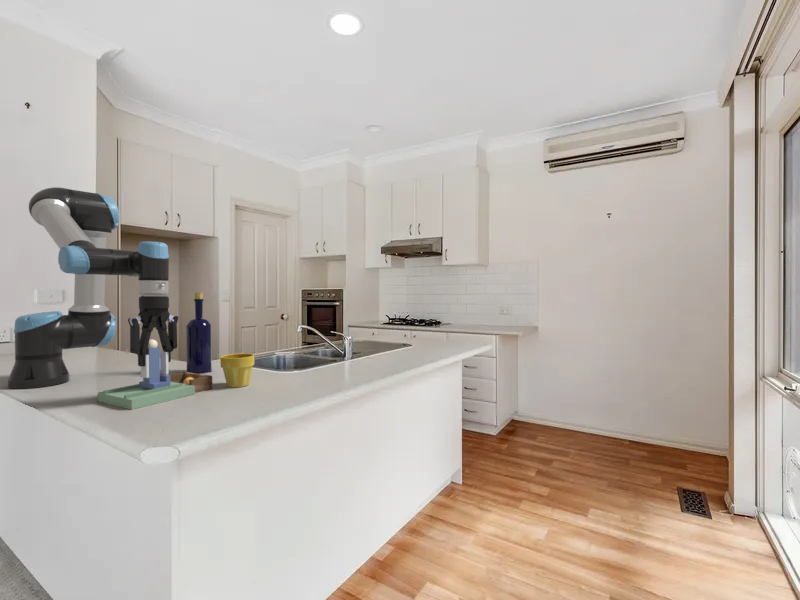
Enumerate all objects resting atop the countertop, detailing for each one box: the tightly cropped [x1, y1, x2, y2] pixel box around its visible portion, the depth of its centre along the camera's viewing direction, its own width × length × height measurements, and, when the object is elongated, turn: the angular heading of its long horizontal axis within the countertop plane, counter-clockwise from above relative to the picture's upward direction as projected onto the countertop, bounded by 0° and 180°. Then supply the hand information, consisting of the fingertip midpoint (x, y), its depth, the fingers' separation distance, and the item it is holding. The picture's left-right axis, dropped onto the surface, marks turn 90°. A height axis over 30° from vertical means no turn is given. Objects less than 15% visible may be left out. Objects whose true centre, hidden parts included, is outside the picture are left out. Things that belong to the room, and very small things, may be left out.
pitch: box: [97, 382, 195, 410], centre depth 118 cm, size 16×18×3 cm
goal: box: [168, 371, 213, 393], centre depth 129 cm, size 13×7×4 cm, turn 63°
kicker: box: [138, 338, 170, 389], centre depth 119 cm, size 7×5×14 cm
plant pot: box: [219, 352, 255, 388], centre depth 133 cm, size 10×10×10 cm
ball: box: [183, 377, 194, 385], centre depth 129 cm, size 4×4×4 cm
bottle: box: [185, 292, 213, 375], centre depth 155 cm, size 9×9×30 cm
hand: (155, 375), depth 119 cm, fingers closed on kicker, 5 cm apart
